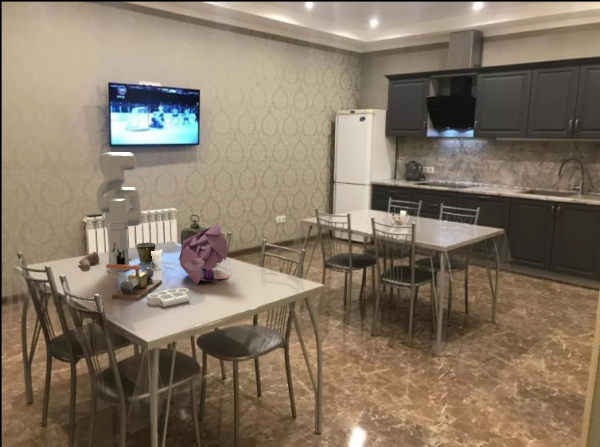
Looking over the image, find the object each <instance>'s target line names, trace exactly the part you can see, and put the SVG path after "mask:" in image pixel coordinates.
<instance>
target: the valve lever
mask: <svg viewBox="0 0 600 447" xmlns="http://www.w3.org/2000/svg"><path fill="white" fill-rule="evenodd" d="M105 268H115V269H130V270H133V271H135V270H139V271H140V269H141V264H131V265H122V264H109V263H107V264H106V265H105Z"/></svg>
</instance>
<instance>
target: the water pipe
mask: <svg viewBox="0 0 600 447" xmlns="http://www.w3.org/2000/svg"><path fill="white" fill-rule="evenodd" d="M154 274H155V273H154V270H153V268H151V267H145V268H143V269H142V270H141V272H140V269H139V270H134V272H132V273H131V274H129V275H127V279H126V280H123V281H122V282H121V283H120V285H119V290H121V291H122V294H135V293H136V292H137V290H136V289H133V288H134V287H139V288H141V287H143V286H144V285H146V284H147V283H151V282H152V280H153V277H154Z"/></svg>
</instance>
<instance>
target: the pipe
mask: <svg viewBox="0 0 600 447" xmlns="http://www.w3.org/2000/svg"><path fill="white" fill-rule="evenodd" d="M99 262H100V256H99V253H98V252H96V251H92V253H91V252H90V253H89V254H87V255H85V256H84V257H82V259H80V260H79V262H78V264H80V266H81V268H82V269H83V270H84V271H89V270H90V268H91V265H93V264H94V265H95V264H99Z"/></svg>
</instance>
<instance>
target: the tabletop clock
mask: <svg viewBox="0 0 600 447" xmlns="http://www.w3.org/2000/svg"><path fill="white" fill-rule="evenodd" d="M192 217H197V218H198V220H196V219H192ZM189 220H190V221H191V223H190V226H189V227H185V228H182V230H181V231H180V232H181V233H180V246H181V248H182V245H183V242H184V241H185V240H187V239H189V238H191V237H193V236H194V235H196V234H198V233H200V232H203V231H204V230H206V229H208V228H207V227H205V226H200V224H199V221H200V217H199V216H198V215H197V214H191V215H190V216H189Z"/></svg>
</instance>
